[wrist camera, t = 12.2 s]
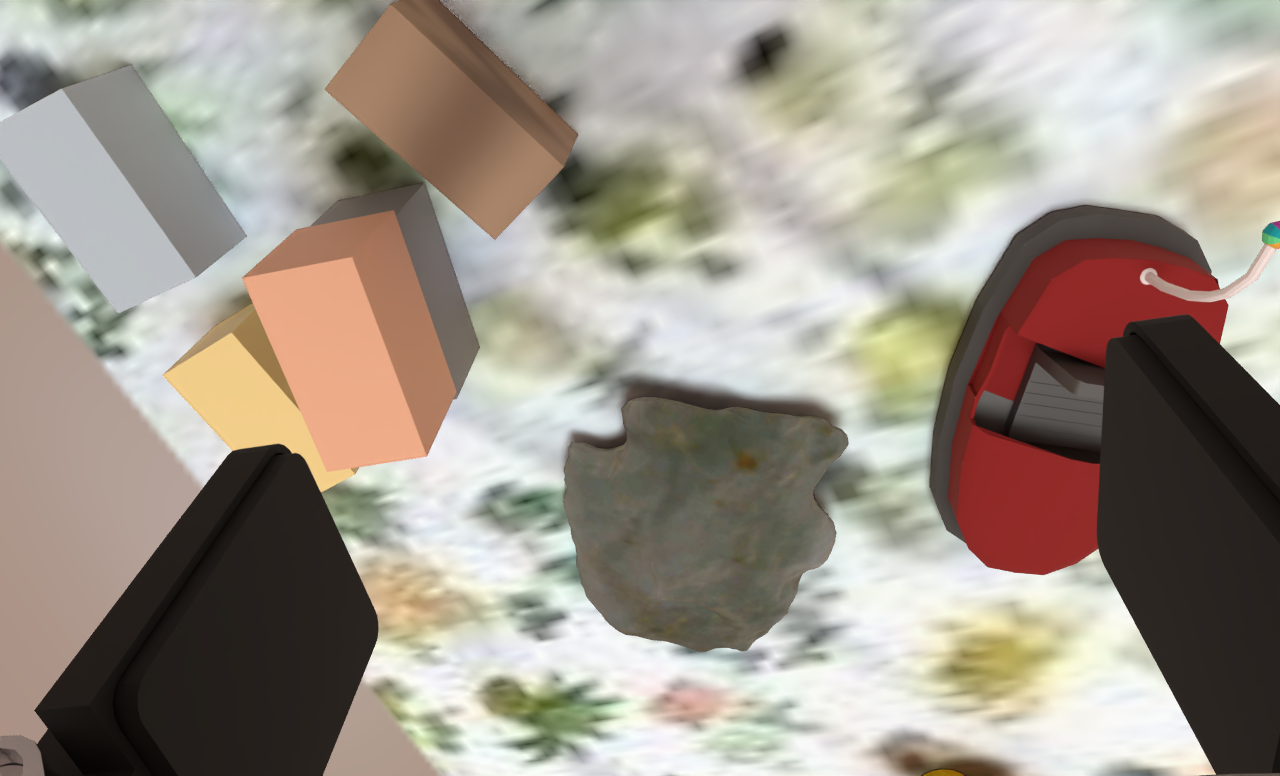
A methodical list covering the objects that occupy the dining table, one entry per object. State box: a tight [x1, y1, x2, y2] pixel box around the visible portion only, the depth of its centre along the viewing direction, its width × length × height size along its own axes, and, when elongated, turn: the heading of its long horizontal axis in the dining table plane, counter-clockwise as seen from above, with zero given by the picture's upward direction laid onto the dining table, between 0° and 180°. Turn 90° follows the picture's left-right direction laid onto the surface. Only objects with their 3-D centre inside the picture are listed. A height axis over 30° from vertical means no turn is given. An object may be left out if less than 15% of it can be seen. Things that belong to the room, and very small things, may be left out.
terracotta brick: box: [242, 210, 456, 472], centre depth 36 cm, size 8×4×5 cm, turn 12°
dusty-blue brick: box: [0, 65, 247, 313], centre depth 39 cm, size 8×4×5 cm, turn 24°
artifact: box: [563, 397, 848, 652], centre depth 46 cm, size 14×4×15 cm
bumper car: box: [930, 206, 1280, 575], centre depth 39 cm, size 10×20×10 cm, turn 172°
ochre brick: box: [163, 303, 359, 492], centre depth 43 cm, size 8×4×5 cm, turn 31°
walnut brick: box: [324, 0, 578, 239], centre depth 36 cm, size 8×4×5 cm, turn 46°
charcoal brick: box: [310, 182, 480, 400], centre depth 40 cm, size 8×4×5 cm, turn 13°
